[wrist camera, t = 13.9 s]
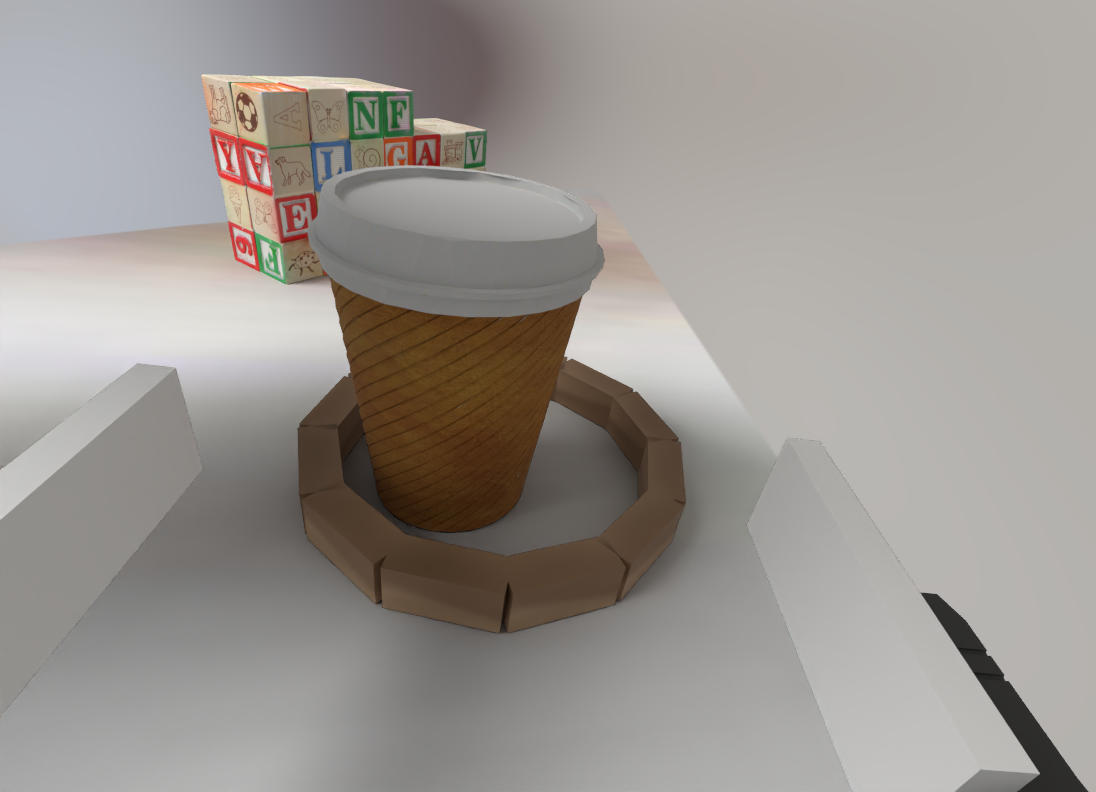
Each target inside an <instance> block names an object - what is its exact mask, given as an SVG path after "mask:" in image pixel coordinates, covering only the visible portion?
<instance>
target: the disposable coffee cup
mask: <svg viewBox="0 0 1096 792" xmlns="http://www.w3.org/2000/svg"><path fill="white" fill-rule="evenodd" d="M307 234H308V238H309V243H310V247H311V248H312V249H313V250H314V252H315V253H316V254H317V255H318V257H319V260H320V262H321V265H322V268H323V270H324V271H325V272H326V273H327V274H328V275H329V277H330V280H331V287H332V291H333V294H334V297H335V304H336V309H337V312H338V315H339V323H340V326H341V329H342V333H343V340H344V344H345V347H346V350H347V358H348V361H349V364H350V371H351V375H352V378H353V381H354V382H353V384H354V388H355V391H356V398H357V401H358V405H359V408H360V415H361V418H362V421H363V428H364V431H365V435H366V436H365V438H366V441H367V445H368V451H369V454H370V458H371V463H372V467H373V471H374V472H373V473H374V477H375V481H376V488H377V492H378V495H379V498H380V499H381V501H382V503H383V504H384V506H385V507H386V508H387V509H388V510H389V511H390V512H391V513H392V514H393V515H395V516H396V517H398V518H399V519H401V520H403V521H404V522H406V523H409V524H411V525H414V526H417V527H420V528H423V529H427V530H432V531H444V532H457V531H467V530H472V529H476V528H481V527H483V526H486V525H488V524H491V523H493V522H495V521H497V520H498V519H500V518H502V517H503V516H505V515H506V514H507V513H508V512H509V511H510V510H511V509H512V508H513V507H514V506H515V505H516V503H517V502H518V500H519V498H520V496H521V493H522V490H523V486H524V482H525V479H526V476H527V473H528V469H529V466H530V463H531V460H532V457H533V453H534V450H535V447H536V444H537V440H538V437H539V434H540V431H541V428H542V425H543V422H544V419H545V415H546V412H547V408H548V405H549V402H550V398H551V395H552V392H553V389H554V387H555V383H556V379H557V376H558V374H559V370H560V367H561V363H562V360H563V357H564V354H565V350H566V347H567V344H568V341H569V338H570V334H571V331H572V328H573V325H574V321H575V318H576V315H577V312H578V309H579V305H580V302H581V299H582V296H583V295H584V294H585V293H586V292H587V291H588V290H589V289H590V286H591V283H592V280H593V279H595V278H596V277H597V275H598V274H599V272H600V271H601V270H602V268H603V265H604V262H605V260H604V254H603V249H602V248H601V247H600V245H599V244H598V243H597V214H596V213H595V212H594V210H593V209H592V208H591V206H590V205H589V204H587V203H586V202H584V201H582V200H581V199H579V198H577V197H576V196H574V195H572V194H569V193H567V192H564V191H562V190H559V189H557V188H554V187H552V186H549V185H545V184H542V183H538V182H535V181H531V180H528V179H523V178H518V177H514V176H509V175H503V174H497V173H490V172H485V171H479V170H472V169H462V168H452V167H439V166H415V165H405V166H384V167H369V168H364V169H358V170H353V171H348V172H345V173H341V174H338V175H335V176H333V177H332V178H330V179H329V180H327V181H325V182H324V184H323V186H322V187H321V193H320V200H319V207H318V215H317V217H316V218H315V219H314V220H313V221H312V222H311V223H310V224H309V228H308V231H307Z"/></svg>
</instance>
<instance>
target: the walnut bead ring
mask: <svg viewBox="0 0 1096 792" xmlns="http://www.w3.org/2000/svg"><path fill="white" fill-rule="evenodd" d="M353 382H354V381H353V378H352V375H351V373H349V374H348V377H346V376H344V377H343V378H342V379H341V380H340V381H339V382H338V383H337V384H336V385H335V387H334V388H333V389H332V390H331V391H330V392H329V393H328V394H327V395H326V396H325V397H324V398H323V399H322V400H321V401H320V402H319V404H318V405H317V406H316V407H315V408H314V409H313V410H312V411H311V412H310V413H309V414H308V415H307V416H306V417H305V418H304V419H303V420H302V422H301V423H300V428H298V460H299V495H300V501H301V508H302V514H303V521H304V528H305V534H307V537H308V540H309V541H310V542H311V543H312V544H314V545H315V546H316V547H317V548H318V549H319V550H320V551H321V552H322V553H323V554H324V555H325V556H326V557H327V558H328V559H329V560H330V561H331V562H332V563H333V564H334V565H335V566H336V567H337V568H338V569H340V570H341V571H342V572H343V573H344V574H345V575H346V576H347V577H348V578H349V579H350V580H351V581H352V582H353V583H354V584H355V585H356V586H357V587H358V588H359V589H360V590H361V591H362V592H363V593H365V594H366V595H367V596H368V597H369V598H370V599H371V600H372V601H373V602H374V603H375V604H377V603H378V602H379V601H381V600H382V608H386V609H391V610H395V611H400V612H404V613H409V614H413V615H418V616H422V617H427V618H431V619H436V620H440V621H445V622H449V623H454V624H459V625H463V626H468V627H472V628H477V629H481V630H486V631H490V632H495V633H500V629H501V625H502V621H504V624H505V627H506V630H507V633H511V632H515V631H518V630H522V629H526V628H530V627H533V626H537V625H541V624H545V623H548V622H552V621H556V620H560V619H563V618H567V617H571V616H575V615H578V614H582V613H586V612H589V611H593V610H597V609H601V608H604V607H608V606H612V605H614V604H615V601H616V599H617V600H619V601H621V600H622V598H623V597H624V596H625V595H626V594H627V593H628V592H629V590H630V589H631V588H632V587H633V586H634V585H635V583H636V582H637V581H638V580H639V579H640V578H641V576H642V575H643V574H644V573H645V572H646V571H647V569H648V568H649V567H650V566H651V565H652V564H653V563H654V561H655V560H656V559H657V558H658V557H659V556H660V554H661V553H662V552H663V551H664V550H665V549H666V547H667V546H668V545H669V544H670V543H671V542H672V539H673V536H674V533H675V531H676V528H677V525H678V522H679V520H680V517H681V514H682V511H683V508H684V505H685V503H686V499H685V487H684V476H683V464H682V453H681V442H678V439H679V438H678V437H677V436H676V435H675V434H674V433H673V431H672V430H671V429H670V428H669V427H668V426H667V425H666V424H665V422H664V421H663V420H662V419H661V418H660V417H659V416H658V415H657V414H656V412H655V411H654V410H653V409H652V408H651V407H650V406H649V405H648V403H647V402H646V401H645V400H644V399H643V398H642V397H641V396H640V395H639V393H638V392H633V389H632V388H630V387H628V386H626V385H624V384H622V383H620V382H618V381H616V380H614V379H612V378H610V377H608V376H606V375H604V374H602V373H600V372H598V371H596V370H594V369H592V368H590V367H588V366H586V365H584V364H582V363H580V362H578V361H576V360H574V359H570V360H568V361H567V357H563V360H562V363H561V367H560V370H559V374H558V376H557V379H556V383H555V387H554V389H553V392H552V395H551V398H550V400H554V401H556V402H558V403H560V404H561V405H563V406H565V407H567V408H569V409H570V410H572V411H574V412H576V413H578V414H580V415H581V416H583V417H585V418H587V419H589V420H590V421H592V422H594V423H596V424H598V425H600V426H601V427H603V428H605V429H606V430H607V431H608V432H609V434H610V435H611V436H612V438H613V439H614V440H615V442H616V443H617V444H618V446H619V447H620V448H621V450H622V451H623V452H624V454H625V455H626V457H627V458H628V459H629V461H630V462H631V463H632V465H633V466H634V467H635V469H636V470H637V471H638V500H637V501H636V502H635V503H634V504H633V505H632V506H631V507H630V508H629V509H628V510H627V511H626V512H625V513H624V514H623V515H621V516H620V517H619V518H618V519H617V520H616V521H615V522H614V523H613V524H612V525H611V526H610V527H609V528H608V529H607V530H606V531H605V532H604V533H603V534H602V535H601V536H599V537H594V538H589V539H585V540H580V541H575V542H570V543H566V544H561V545H556V546H552V547H547V548H542V549H538V550H533V551H528V552H523V553H519V554H514V555H509V556H504V555H500V554H495V553H490V552H486V551H481V550H476V549H471V548H467V547H462V546H457V545H453V544H448V543H443V542H438V541H434V540H429V539H424V538H419V537H415V536H410V535H406V534H405V533H403V532H402V531H401V530H400V529H399V528H397V527H396V526H395V525H394V524H393V523H391V522H390V521H389V520H388V519H387V518H385V517H384V516H383V515H382V514H381V513H379V512H378V511H377V510H376V509H375V508H373V507H372V506H371V505H370V504H369V503H367V502H366V501H365V500H364V499H363V498H361V497H360V496H359V495H358V494H357V493H355V492H354V491H353V490H352V489H350V488H349V487H348V486H347V485H346V484H344V479H343V471H342V462H343V461H344V459H345V458H346V457H347V455H348V454H349V453H350V451H351V450H352V449H353V447H354V446H355V445H356V443H357V442H358V441H359V439H360V438H361V437H362V435H363V434H364V433H365V431H364V428H363V421H362V418H361V415H360V408H359V405H358V401H357V398H356V391H355V388H354V384H353Z"/></svg>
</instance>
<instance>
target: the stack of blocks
mask: <svg viewBox="0 0 1096 792" xmlns="http://www.w3.org/2000/svg"><path fill="white" fill-rule="evenodd" d="M202 83H203V88H204V93H205V98H206V104H207V109H208V114H209V119H210V123H211V127H212V128H210V129H209V130H210V135H211V142H212V145H213V151H214V156H215V162H216V166H217V171H218V174H219V176H220V182H221V187H222V192H223V197H224V202H225V206H226V212H227V216H228V219H229V220H228V223H229V230H230V235H231V240H232V245H233V251H234V256H235V259H236V260H237V261H239V262H241V263H243V264H245V265H247V266H249V267H251V268H253V269H256V270H257V271H260V272H263V273H264V274H266V275H268V276H270V277H272V278H274V279H276V280H278V281H280V282H282V283H284V284H291V283H295V282H299V281H303V280H306V279H310V278H314V277H318V276H322V275H327V273H326V272H325V271H324V270H323V268H322V265H321V262H320V260H319V257H318V255H317V254H316V253H315V252H314V250H313V249H312V248H311V247H310V243H309V238H308V234H307V231H308V228H309V224H310V223H311V222H312V221H313V220H314V219H315V218H316V217H317V215H318V207H319V200H320V193H321V187H322V186H323V184H324V182H325V181H327V180H329V179H330V178H332V177H333V176H335V175H338V174H341V173H345V172H348V171H353V170H358V169H364V168H369V167H384V166H405V165H415V166H439V167H452V168H462V169H472V170H479V171H485V172H486V167H485V160H486V143H487V131H486V130H483V129H479V128H475V127H471V126H468V125H464V124H457V123H454V122H449V121H446V120H441V119H437V118H429V119H414V109H413V91H411V90H406V89H402V88H396V87H392V86H387V85H383V84H378V83H374V82H369V81H365V80H361V79H356V78H327V77H309V76H293V77H277V76H250V77H248V76H239V75H202Z"/></svg>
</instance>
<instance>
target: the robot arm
mask: <svg viewBox="0 0 1096 792" xmlns="http://www.w3.org/2000/svg"><path fill="white" fill-rule="evenodd" d="M202 470H203V467H202V463H201V459H200V455H199V452H198V448H197V444H196V441H195V437H194V433H193V430H192V426H191V422H190V418H189V415H188V411H187V407H186V404H185V400H184V396H183V393H182V389H181V385H180V382H179V378H178V374H177V370H176V368H173V367H164V366H155V365H146V364H138V363H137V364H136V365H135V366H134V367H132V368H131V369H130V370H128V371H127V372H126V373H125V374H123V375H122V376H121V377H119V378H118V379H117V380H116V381H114V382H113V383H112V384H110V385H109V386H108V387H106V388H105V389H104V390H103V391H101V392H100V393H99V394H97V395H96V396H95V397H94V398H92V399H91V400H90V401H88V402H87V403H86V404H85V405H83V406H82V407H81V408H79V409H78V410H77V411H76V412H74V413H73V414H72V415H70V416H69V417H68V418H67V419H65V420H64V421H63V422H61V423H60V424H59V425H58V426H56V427H55V428H54V429H52V430H51V431H50V432H48V433H47V434H46V435H45V436H43V437H42V438H41V439H39V440H38V441H37V442H36V443H34V444H33V445H32V446H30V447H29V448H28V449H27V450H25V451H24V452H23V453H21V454H20V455H19V456H18V457H16V458H15V459H14V460H12V461H11V462H10V463H9V464H7V465H6V466H5V467H3V468H2V469H1V470H0V717H1V716H2V714H3V713H4V712H5V711H6V710H7V708H8V707H9V706H10V705H11V703H12V702H13V701H14V700H15V699H16V697H17V696H18V695H19V694H20V692H21V691H22V690H23V689H24V688H25V686H26V685H27V684H28V683H29V681H30V680H31V679H32V678H33V677H34V675H35V674H36V673H37V672H38V670H39V669H40V668H41V667H42V666H43V664H44V663H45V662H46V661H47V659H48V658H49V657H50V656H51V655H52V653H53V652H54V651H55V650H56V648H57V647H58V646H59V645H60V644H61V642H62V641H63V640H64V639H65V637H66V636H67V635H68V634H69V633H70V631H71V630H72V629H73V628H74V626H75V625H76V624H77V623H78V622H79V620H80V619H81V618H82V617H83V615H84V614H85V613H86V612H87V611H88V609H89V608H90V607H91V606H92V604H93V603H94V602H95V601H96V600H97V598H98V597H99V596H100V595H101V593H102V592H103V591H104V590H105V589H106V587H107V586H108V585H109V584H110V582H111V581H112V580H113V579H114V578H115V576H116V575H117V574H118V573H119V571H120V570H121V569H122V568H123V567H124V565H125V564H126V563H127V562H128V560H129V559H130V558H131V557H132V556H133V554H134V553H135V552H136V551H137V549H138V548H139V547H140V546H141V545H142V543H143V542H144V541H145V540H146V538H147V537H148V536H149V535H150V534H151V532H152V531H153V530H154V529H155V527H156V526H157V525H158V524H159V523H160V521H161V520H162V519H163V518H164V516H165V515H166V514H167V513H168V512H169V510H170V509H171V508H172V507H173V505H174V504H175V503H176V502H177V501H178V499H179V498H180V497H181V496H182V494H183V493H184V492H185V491H186V490H187V488H188V487H189V486H190V485H191V483H192V482H193V481H194V480H195V479H196V477H197V476H198V475H199V474H200V472H201V471H202ZM747 527H748V530H749V532H750V535H751V537H752V540H753V542H754V545H755V548H756V550H757V553H758V555H759V558H760V560H761V563H762V565H763V568H764V570H765V573H766V575H767V578H768V580H769V583H770V585H771V588H772V590H773V593H774V596H775V598H776V601H777V603H778V606H779V608H780V611H781V613H782V616H783V618H784V621H785V623H786V626H787V628H788V631H789V633H790V636H791V638H792V641H793V644H794V646H795V649H796V651H797V654H798V656H799V659H800V661H801V664H802V666H803V669H804V671H805V674H806V676H807V679H808V681H809V684H810V686H811V689H812V692H813V694H814V697H815V699H816V702H817V704H818V707H819V709H820V712H821V714H822V717H823V719H824V722H825V724H826V727H827V729H828V732H829V734H830V737H831V740H832V742H833V745H834V747H835V750H836V752H837V755H838V757H839V760H840V762H841V765H842V767H843V770H844V772H845V775H846V777H847V780H848V782H849V785H850V788H851V790H852V792H1088V791H1087V790H1086V788H1085V787H1084V786H1083V785H1082V783H1081V782H1080V781H1079V780H1078V779H1077V777H1076V776H1075V774H1074V773H1073V771H1072V770H1071V769H1070V767H1069V766H1068V765H1067V763H1066V762H1065V760H1064V759H1063V758H1062V756H1061V755H1060V753H1059V752H1058V750H1057V749H1056V747H1055V746H1054V745H1053V743H1052V742H1051V740H1050V739H1049V738H1048V736H1047V735H1046V733H1045V732H1044V731H1043V729H1042V728H1041V727H1040V725H1039V723H1038V722H1037V721H1036V719H1035V718H1034V716H1033V715H1032V714H1031V712H1030V711H1029V709H1028V708H1027V707H1026V705H1025V704H1024V702H1023V701H1022V699H1021V698H1020V697H1019V695H1018V694H1017V692H1016V691H1015V690H1014V688H1013V687H1012V685H1011V684H1010V683H1009V681H1005V680H1004V674H1003V673H1002V671H1001V670H1000V668H999V667H998V666H997V664H996V663H995V661H994V660H993V658H992V657H991V656H987V654H986V649H985V648H984V646H983V644H982V643H981V642H980V640H979V639H978V637H977V636H976V635H975V633H974V632H973V630H972V629H971V627H970V626H969V625H968V623H967V622H966V620H964V619H963V618H962V617H961V616H960V615H959V614H958V613H957V612H956V611H955V610H954V609H952V608H951V607H950V606H949V605H948V604H947V603H946V602H945V601H944V600H943V599H942V598H940V597H939V596H938V595H937V594H929V593H920V592H919V590H918V589H917V587H916V586H915V584H914V583H913V581H912V580H911V578H910V577H909V575H908V573H907V572H906V571H905V569H904V568H903V566H902V564H901V563H900V561H899V560H898V558H897V557H896V555H895V554H894V552H893V551H892V549H891V548H890V547H889V545H888V543H887V542H886V540H885V539H884V537H883V536H882V534H881V533H880V531H879V530H878V528H877V527H876V525H875V524H874V522H873V521H872V519H871V518H870V516H869V515H868V513H867V511H866V510H865V509H864V507H863V505H862V504H861V503H860V501H859V499H858V498H857V496H856V495H855V493H854V492H853V491H852V489H851V487H850V486H849V484H848V483H847V481H846V480H845V478H844V477H843V475H842V474H841V472H840V471H839V469H838V468H837V466H836V465H835V463H834V462H833V460H832V459H831V457H830V456H829V454H828V453H827V451H826V450H825V448H824V446H823V445H822V443H821V442H820V441H813V440H804V439H796V438H786V441H785V443H784V445H783V447H782V449H781V451H780V454H779V456H778V458H777V460H776V462H775V465H774V467H773V469H772V471H771V473H770V475H769V478H768V480H767V482H766V484H765V486H764V489H763V491H762V493H761V495H760V497H759V500H758V502H757V504H756V506H755V508H754V510H753V513H752V515H751V517H750V519H749V521H748V524H747Z"/></svg>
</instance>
